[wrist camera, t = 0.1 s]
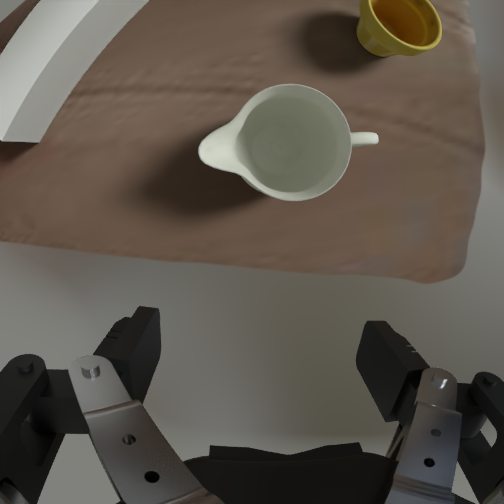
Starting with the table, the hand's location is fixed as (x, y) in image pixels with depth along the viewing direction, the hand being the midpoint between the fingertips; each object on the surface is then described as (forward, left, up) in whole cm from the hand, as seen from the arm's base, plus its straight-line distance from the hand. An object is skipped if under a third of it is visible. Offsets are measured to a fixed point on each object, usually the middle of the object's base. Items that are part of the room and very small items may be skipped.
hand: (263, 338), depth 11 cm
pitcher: (-9, +4, -30) cm, 31 cm away
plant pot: (-28, +16, -30) cm, 44 cm away
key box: (-23, -28, -29) cm, 47 cm away
